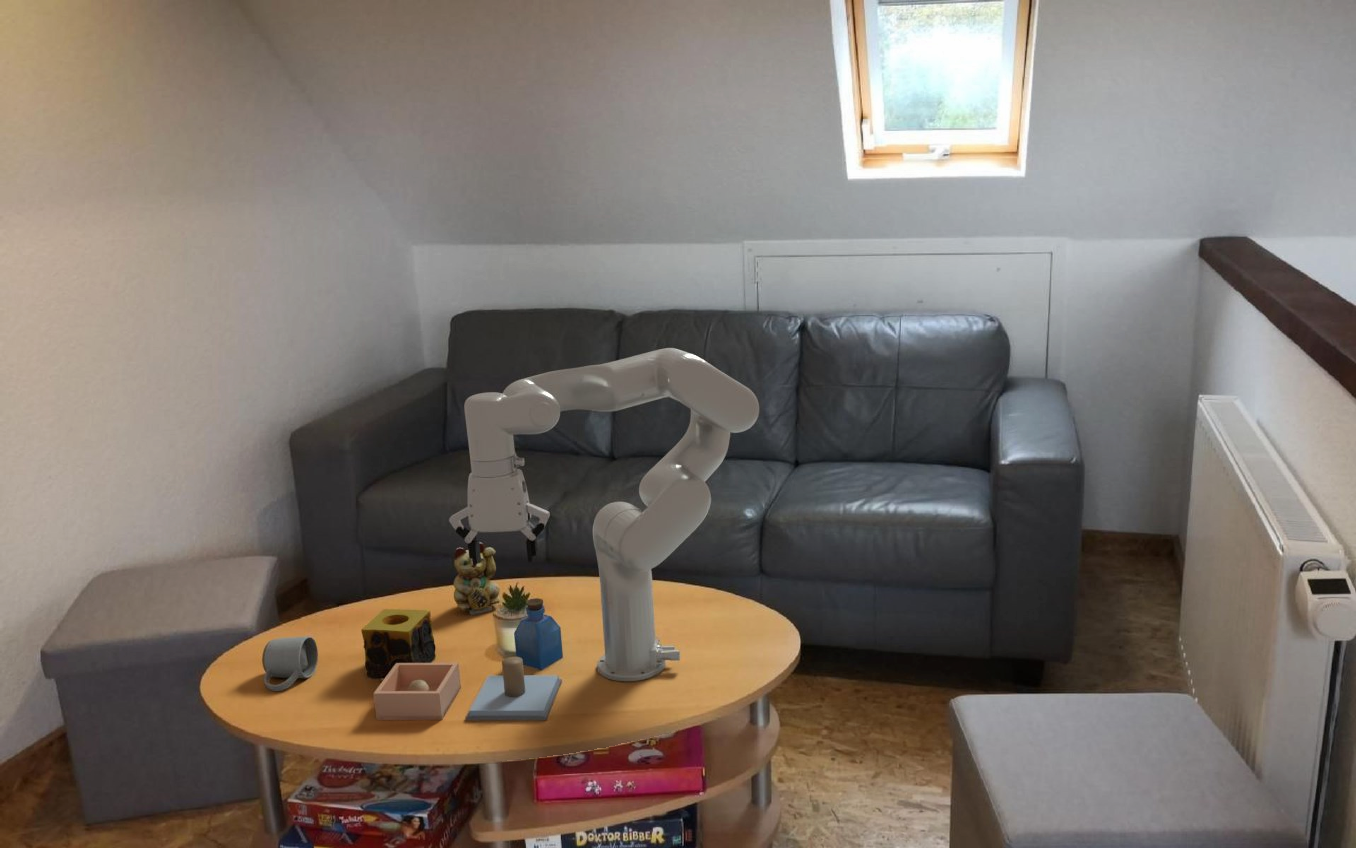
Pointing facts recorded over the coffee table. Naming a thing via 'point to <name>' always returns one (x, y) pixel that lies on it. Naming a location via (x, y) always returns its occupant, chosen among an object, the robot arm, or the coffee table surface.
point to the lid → (514, 692)
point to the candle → (397, 640)
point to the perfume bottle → (538, 637)
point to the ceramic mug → (289, 660)
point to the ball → (418, 686)
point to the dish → (417, 704)
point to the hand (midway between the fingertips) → (504, 560)
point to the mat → (517, 718)
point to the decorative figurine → (475, 581)
